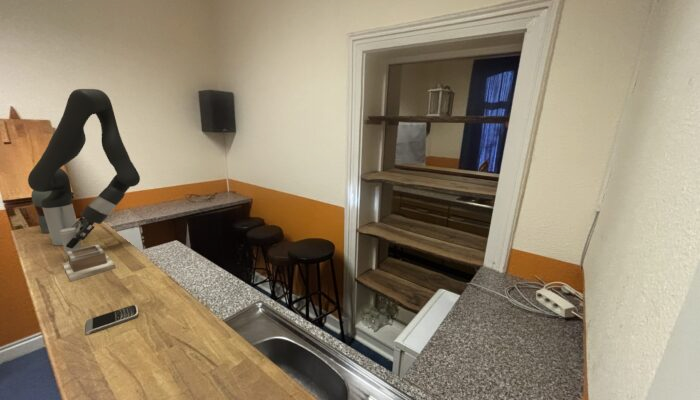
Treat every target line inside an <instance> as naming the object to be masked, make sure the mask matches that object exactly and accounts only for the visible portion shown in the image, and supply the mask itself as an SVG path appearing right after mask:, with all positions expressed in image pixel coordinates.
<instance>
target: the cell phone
mask: <svg viewBox="0 0 700 400" xmlns="http://www.w3.org/2000/svg"><path fill="white" fill-rule="evenodd" d="M138 316H139V309H138V305H136V304H132V305H128V306H125V307H122V308H119V309H116V310H113V311H109V312H107V313H104V314H101V315H97V316H95V317H92V318H91V317H90V318H88V319H87V320H86V322H85V323H84V324H85V325H84V336H85V335H87V336H88V335H91V334H94V333H96V332H100V331H103V330H105V329H108V328H111V327H114V326H117V325H119V324H123V323H125V322H128V321H131V320H134V319H136V318H137V317H138Z"/></svg>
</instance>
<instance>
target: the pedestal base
mask: <svg viewBox="0 0 700 400" xmlns="http://www.w3.org/2000/svg"><path fill="white" fill-rule="evenodd" d="M67 253H68V255H67V257H68V259H67V262H62V267H63V269H64V272H65V273H66V276H67V278H68V279H69V281H70V282H74V281H76V280H77V281H78V280H81V279H85V278H87V277H90V276H93V275H97V274H100V273H104V272H107V271H110V270H111V271H112V270H113V269H116V264H115V263H114V262H113V261H112V260H111V258H110V257H109V256H108V255H107V254H106V252H105V251H104V249H103V247H102V248H101V246H100V245H99V244H98V243H97V244H93V245H89V246H84V247H82V248H80V249H76V250H72V251H68V252H67ZM67 257H66V258H67Z"/></svg>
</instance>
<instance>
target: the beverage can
mask: <svg viewBox="0 0 700 400" xmlns="http://www.w3.org/2000/svg"><path fill="white" fill-rule="evenodd" d="M75 231H76V228H66V229H62V230H60V236H61V240H62V243H63V245H62V246H63V250H64V253H65V257H66V259H67V260H68V257H67V255H68V253H67V252H68V251H72V250H76V249H80V248H83V247H82V244H81V243H82V242H81V240H80V241H79V242H78V243H77V244H76V245H75V246H74V248H72V249H71V248H68V247H66V245H67V244H68V242H69V241H70V240H71V239H72V238H73V237H74V235H75V234H76V233H75Z"/></svg>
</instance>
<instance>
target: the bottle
mask: <svg viewBox="0 0 700 400" xmlns="http://www.w3.org/2000/svg"><path fill="white" fill-rule="evenodd" d="M50 194H51V191H46V192H38V191H34V190H33V189H32V192H31V195H30V196H31V202H32V203H33V205H34V208H35V211H36V213H37V217H38V226H39V228H40V230H41V232H42V233H43V234H50V233H49V229H48V226H47V222H46V219H45V215H44V212H43V208H42V205H41V201H42V200H43V199H45V198H47V197H48V196H49V195H50Z"/></svg>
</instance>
